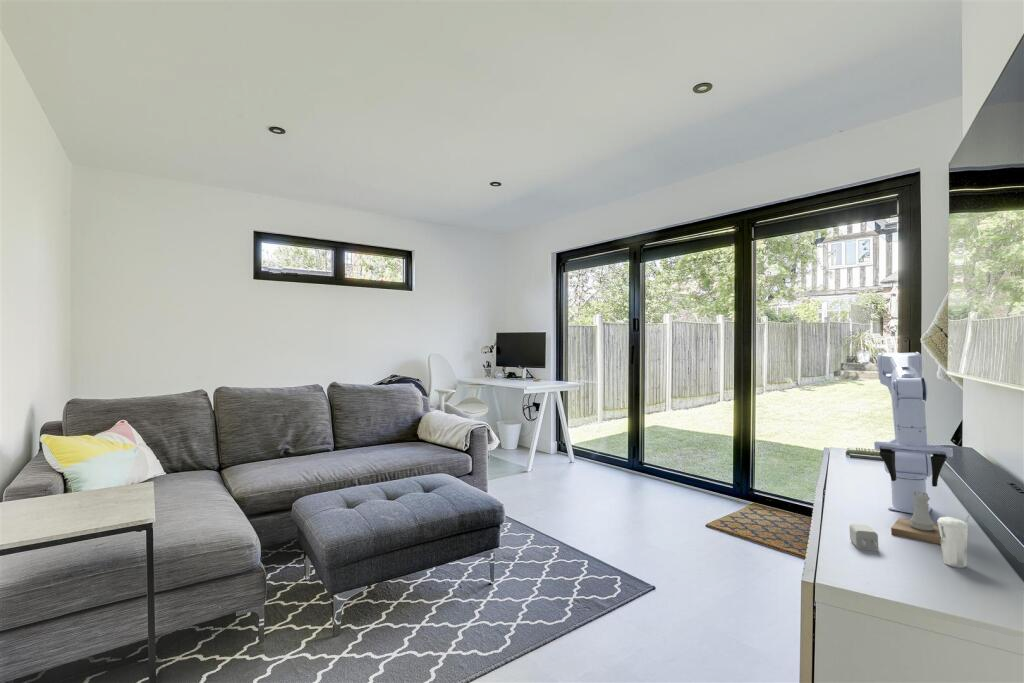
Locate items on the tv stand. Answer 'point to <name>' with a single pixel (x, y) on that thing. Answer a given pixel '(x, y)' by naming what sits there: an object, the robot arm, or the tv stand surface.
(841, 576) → the tv stand surface
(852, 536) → the usb wall charger
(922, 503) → the rook chess piece
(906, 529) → the walnut plinth
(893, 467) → the robot arm
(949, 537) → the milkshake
